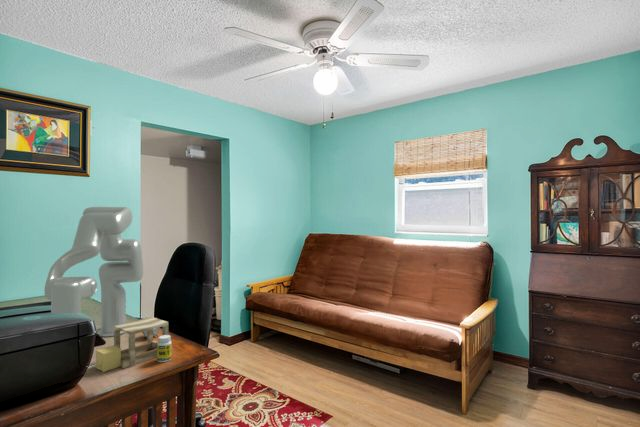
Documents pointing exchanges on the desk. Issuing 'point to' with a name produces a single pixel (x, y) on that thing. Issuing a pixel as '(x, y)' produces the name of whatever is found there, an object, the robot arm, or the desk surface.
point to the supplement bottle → (164, 348)
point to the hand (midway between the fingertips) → (66, 378)
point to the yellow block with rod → (107, 358)
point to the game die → (155, 332)
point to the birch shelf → (133, 329)
